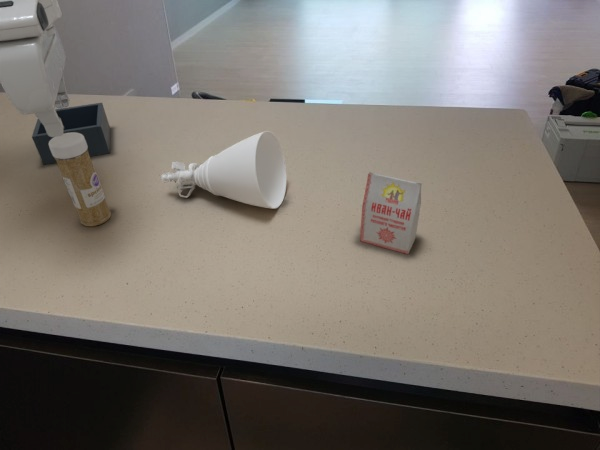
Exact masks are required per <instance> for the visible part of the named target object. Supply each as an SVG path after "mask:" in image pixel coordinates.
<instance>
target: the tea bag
mask: <svg viewBox="0 0 600 450" xmlns="http://www.w3.org/2000/svg"><path fill="white" fill-rule="evenodd" d="M364 190H365V191H364V195H363V201H362V205H361V207H362V208H361V220H360V221H361V222H360V234H359V235H360V237H359V238H360V239H359V241H360V242H362V243H365V244H369V245H373V246H377V247H379V248H384V249H387V250H391V251H395V252H398V253H401V254H402V253H403V254H405V255H409V253H410V251H411V250H412V247H413V244H414V242H415V240H416V238H417V231H418V224H419V219H420V212H421V206H422V183H421V182H417V181H412V180H408V179H404V178H398V177H393V176H389V175H384V174H381V173H380V174H379V173H375V172H370V171H369V172H368V173H367V180H366V185H365V189H364Z"/></svg>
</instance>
